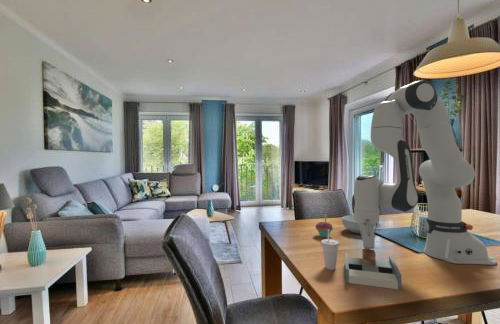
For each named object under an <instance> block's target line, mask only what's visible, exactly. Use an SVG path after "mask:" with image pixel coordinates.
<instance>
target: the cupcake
mask: <svg viewBox="0 0 500 324" xmlns="http://www.w3.org/2000/svg"><path fill="white" fill-rule="evenodd" d="M327 218H328V217H327V214H325V216H324V221H320V222H317V223H316V225H315V230H317V232H318V234H319V236H320V237H321V238H328V230H329V237H330V236H331V232H332V231H333V229H334V227H333V225H332V223H329V222H327Z"/></svg>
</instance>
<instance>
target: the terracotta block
mask: <svg viewBox="0 0 500 324" xmlns="http://www.w3.org/2000/svg"><path fill="white" fill-rule="evenodd" d="M361 253H362V254H361V255H362V256H361V259H363V264H370V265H376V260H377V259H376V251H375V249H370V250H369V249H364V248H362V252H361Z"/></svg>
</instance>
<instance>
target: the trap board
mask: <svg viewBox="0 0 500 324" xmlns="http://www.w3.org/2000/svg"><path fill="white" fill-rule="evenodd" d="M344 254H345V256H344V257H345V258H344V259H345V260H344V261H345V264H344V265H345V283H346V284H353V285H354V284H355V285H361V286H369V287H375V288H376V287H379V288H382V289H383V288H386V289H393V290H399V291H400V290H402V274H401V271H400V270H399V268H398V265H397V263H396V261H395V259H394V256H393V255H389V256H388V260H379V259H376V265H370V264H363V258H362V257H361V258H360V257H359V258H358V257H350V256H349V251H345V253H344Z"/></svg>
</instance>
